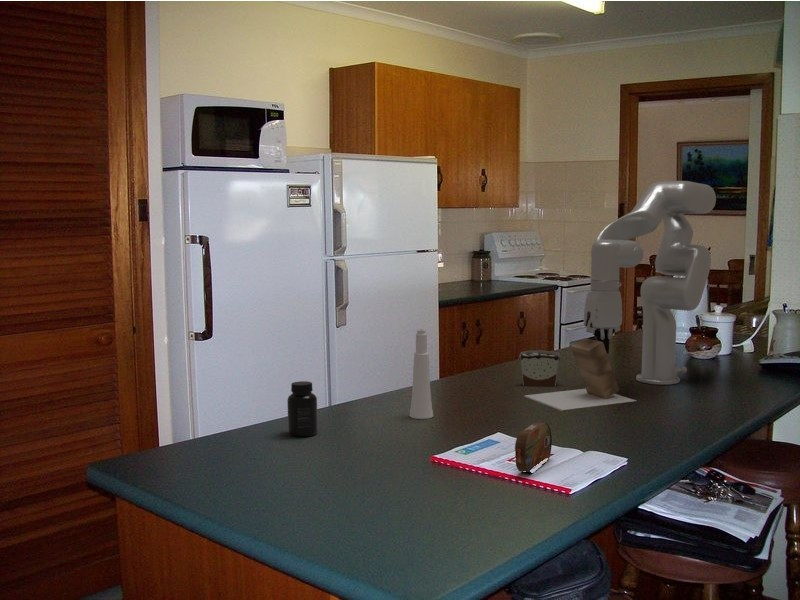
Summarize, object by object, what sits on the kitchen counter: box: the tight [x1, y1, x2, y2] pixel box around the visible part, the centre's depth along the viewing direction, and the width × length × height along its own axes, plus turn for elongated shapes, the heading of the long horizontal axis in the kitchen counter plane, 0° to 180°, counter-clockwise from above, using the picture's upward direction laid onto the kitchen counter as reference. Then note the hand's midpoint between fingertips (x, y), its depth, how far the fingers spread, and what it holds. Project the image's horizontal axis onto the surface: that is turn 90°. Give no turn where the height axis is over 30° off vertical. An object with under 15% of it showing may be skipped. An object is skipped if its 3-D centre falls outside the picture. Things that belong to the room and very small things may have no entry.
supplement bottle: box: [286, 380, 319, 438], centre depth 189 cm, size 7×7×12 cm
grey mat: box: [524, 388, 637, 412], centre depth 223 cm, size 24×18×1 cm
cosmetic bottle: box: [408, 328, 434, 420], centre depth 204 cm, size 6×6×22 cm
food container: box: [518, 350, 562, 387], centre depth 240 cm, size 12×6×10 cm, turn 84°
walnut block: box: [570, 337, 620, 399], centre depth 224 cm, size 5×8×15 cm, turn 24°
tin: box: [514, 422, 553, 472], centre depth 164 cm, size 15×3×8 cm, turn 150°
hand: (602, 353), depth 224 cm, fingers closed
